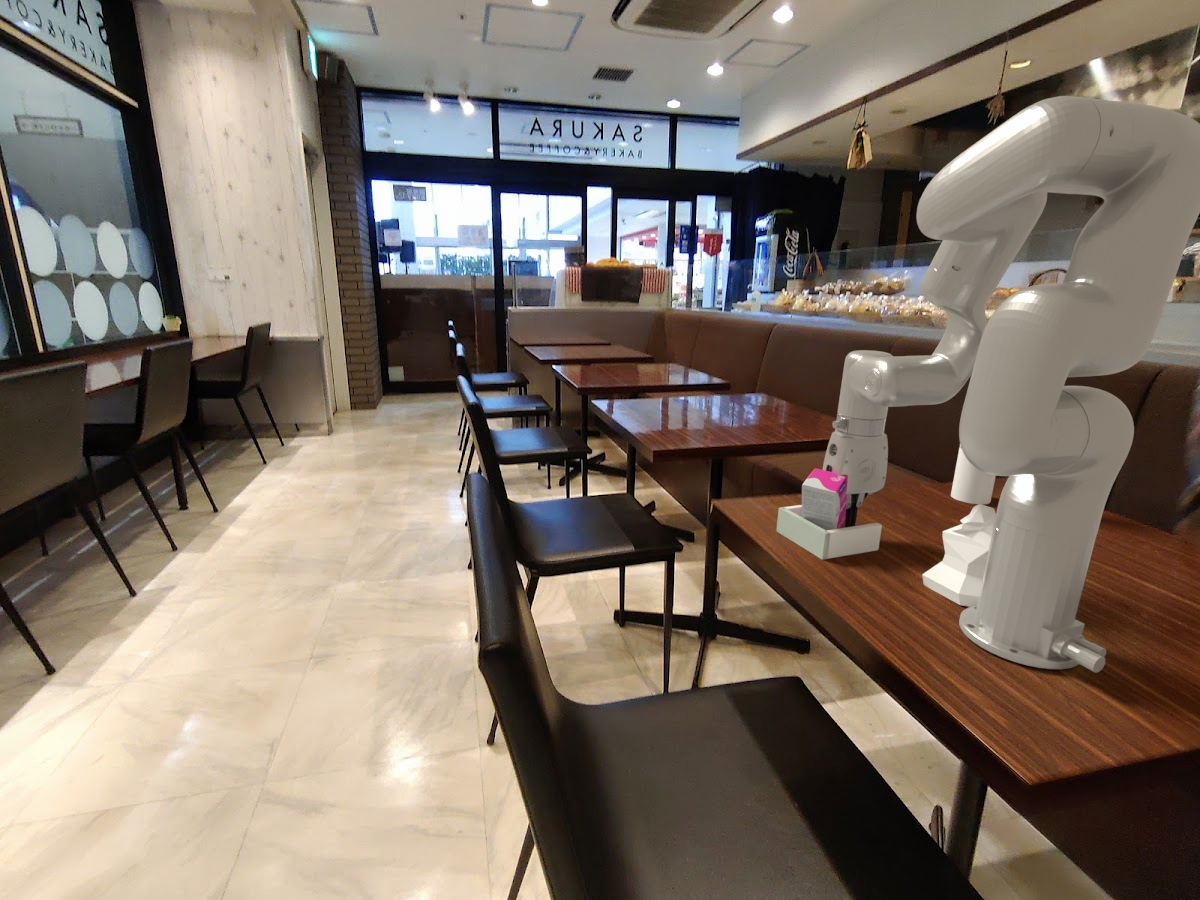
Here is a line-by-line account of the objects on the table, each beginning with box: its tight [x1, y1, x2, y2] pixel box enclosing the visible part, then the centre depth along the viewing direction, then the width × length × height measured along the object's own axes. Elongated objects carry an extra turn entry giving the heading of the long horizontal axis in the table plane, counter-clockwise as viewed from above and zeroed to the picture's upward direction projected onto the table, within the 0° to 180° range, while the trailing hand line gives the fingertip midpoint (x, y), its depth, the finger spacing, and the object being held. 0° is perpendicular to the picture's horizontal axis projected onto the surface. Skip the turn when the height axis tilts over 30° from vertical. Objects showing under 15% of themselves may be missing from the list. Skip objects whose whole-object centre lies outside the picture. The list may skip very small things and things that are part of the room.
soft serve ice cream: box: [922, 504, 997, 607], centre depth 82 cm, size 12×15×14 cm
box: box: [776, 504, 883, 560], centre depth 100 cm, size 12×12×4 cm
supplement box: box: [801, 467, 848, 530], centre depth 98 cm, size 6×6×12 cm
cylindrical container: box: [950, 444, 997, 505], centre depth 119 cm, size 7×7×25 cm
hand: (844, 526), depth 102 cm, fingers closed
